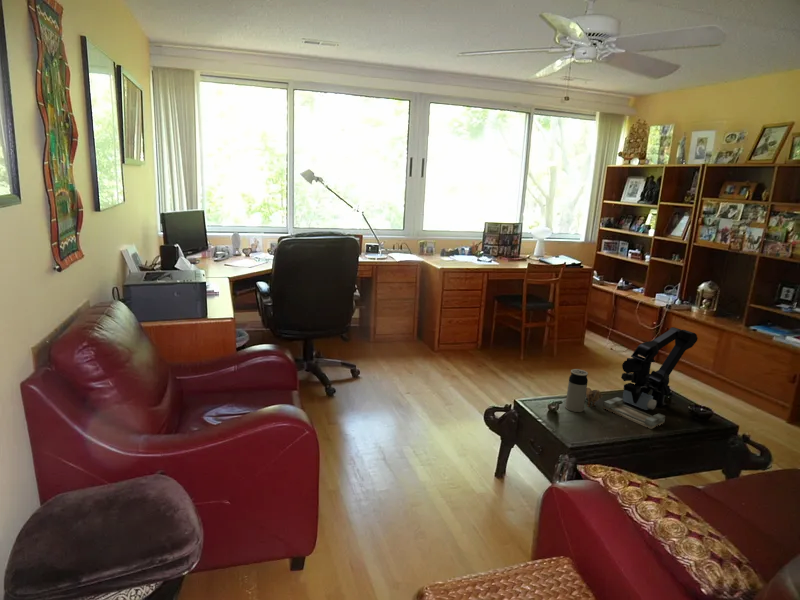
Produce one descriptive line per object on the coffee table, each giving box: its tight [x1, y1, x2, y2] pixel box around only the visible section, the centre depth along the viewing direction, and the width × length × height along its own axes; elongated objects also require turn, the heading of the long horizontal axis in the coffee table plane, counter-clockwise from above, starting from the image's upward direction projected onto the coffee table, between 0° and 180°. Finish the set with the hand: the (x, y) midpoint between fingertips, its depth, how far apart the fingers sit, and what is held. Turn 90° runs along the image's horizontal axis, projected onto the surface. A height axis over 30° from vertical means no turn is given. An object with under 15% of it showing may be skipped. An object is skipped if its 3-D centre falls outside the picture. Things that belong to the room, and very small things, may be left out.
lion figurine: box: [585, 386, 604, 408], centre depth 238 cm, size 15×5×9 cm, turn 9°
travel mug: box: [565, 368, 589, 413], centre depth 230 cm, size 8×8×18 cm
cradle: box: [602, 396, 666, 430], centre depth 228 cm, size 11×23×4 cm, turn 35°
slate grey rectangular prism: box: [622, 389, 657, 411], centre depth 238 cm, size 4×14×6 cm, turn 35°
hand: (637, 402), depth 239 cm, fingers closed on slate grey rectangular prism, 4 cm apart
